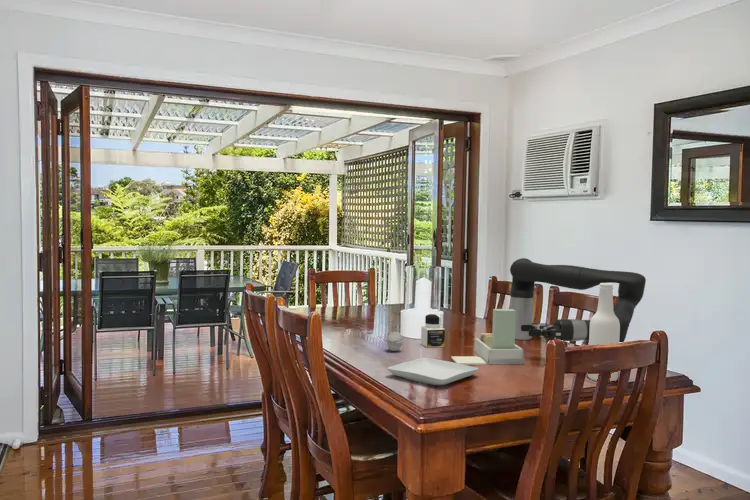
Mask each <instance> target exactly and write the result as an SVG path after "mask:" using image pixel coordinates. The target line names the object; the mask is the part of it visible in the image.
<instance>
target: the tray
mask: <svg viewBox="0 0 750 500" xmlns="http://www.w3.org/2000/svg"><path fill="white" fill-rule="evenodd" d="M524 352H525V349H524V348H522V347H520V346H519V345H518V344H516V343H515V349H491V348H489V347H488V346H487V345H486V344H484V343H483V342H482V341H481V340H480V339H479V338H478V337H475V338H474V353H475V354H477V355H478V356H479V357H480V358H482V359H483V360H484V361H485V362H486V363H487V364H488V365H524V359H525V357H524V356H525V355H524V354H525V353H524Z"/></svg>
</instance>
